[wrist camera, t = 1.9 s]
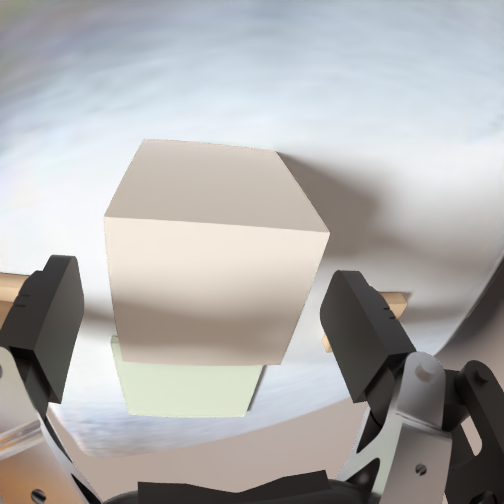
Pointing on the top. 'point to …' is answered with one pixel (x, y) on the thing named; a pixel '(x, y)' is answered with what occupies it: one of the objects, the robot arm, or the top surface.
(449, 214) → the top surface
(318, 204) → the top surface
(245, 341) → the cream block
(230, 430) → the top surface
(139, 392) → the mat
